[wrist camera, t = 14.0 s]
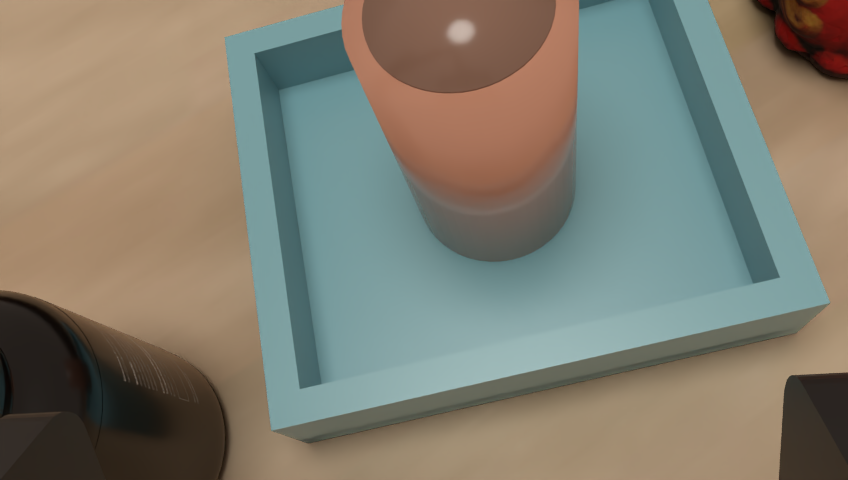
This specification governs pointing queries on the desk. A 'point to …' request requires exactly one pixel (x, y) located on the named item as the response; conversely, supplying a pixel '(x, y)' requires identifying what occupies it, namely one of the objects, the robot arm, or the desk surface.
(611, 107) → the teal tray
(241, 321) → the desk surface
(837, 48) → the red clay folk toy
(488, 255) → the terracotta cup
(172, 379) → the supplement bottle
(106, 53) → the desk surface
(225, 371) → the desk surface
